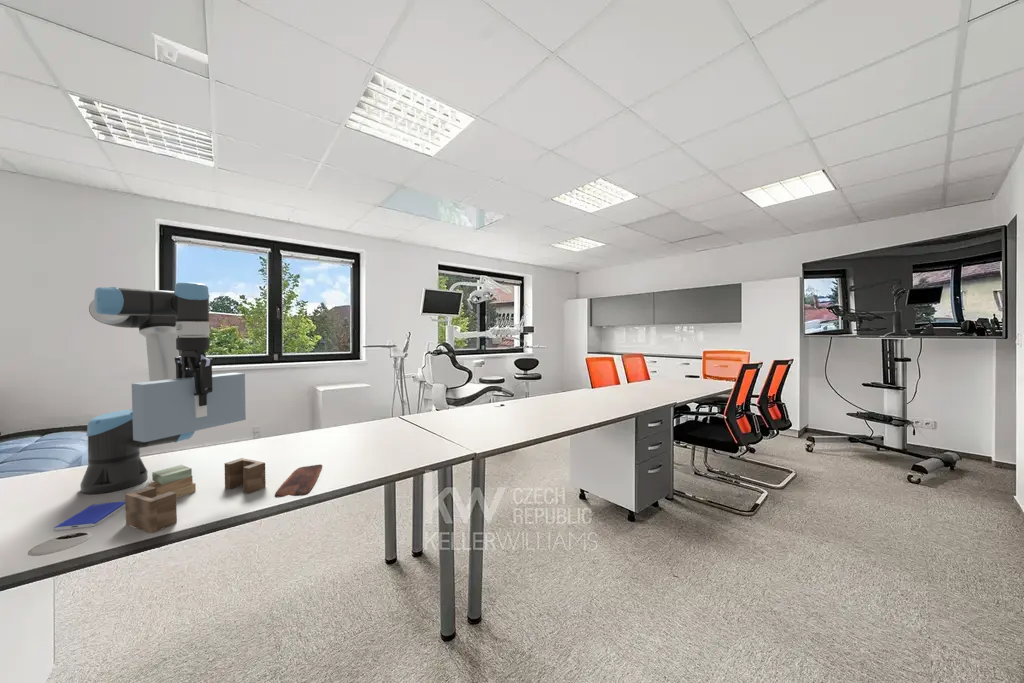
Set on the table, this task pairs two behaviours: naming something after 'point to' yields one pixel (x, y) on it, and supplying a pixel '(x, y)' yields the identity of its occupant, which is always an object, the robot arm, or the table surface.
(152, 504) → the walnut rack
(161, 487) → the offcut stack
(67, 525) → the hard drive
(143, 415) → the slate panel
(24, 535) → the table surface
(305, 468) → the wooden tablet
